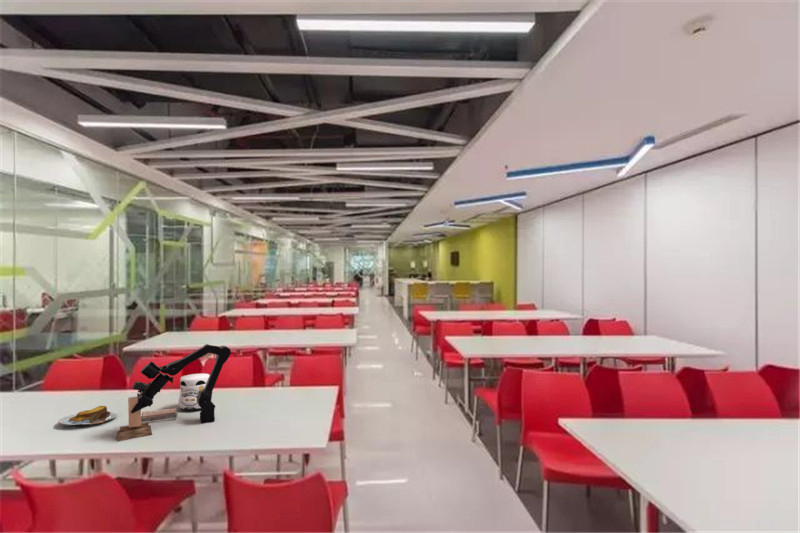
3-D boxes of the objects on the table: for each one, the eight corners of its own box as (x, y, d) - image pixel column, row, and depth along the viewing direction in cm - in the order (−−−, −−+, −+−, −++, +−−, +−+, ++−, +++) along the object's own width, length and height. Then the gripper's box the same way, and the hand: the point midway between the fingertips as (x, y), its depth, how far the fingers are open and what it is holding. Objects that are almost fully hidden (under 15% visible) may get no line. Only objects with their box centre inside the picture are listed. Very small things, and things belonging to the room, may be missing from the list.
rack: (150, 427, 223) (150, 421, 223) (152, 434, 212) (151, 428, 212) (117, 432, 215) (117, 426, 215) (117, 441, 204) (117, 434, 204)
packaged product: (177, 406, 243) (175, 411, 234) (178, 415, 243) (175, 420, 234) (140, 410, 236) (136, 415, 227) (140, 419, 236) (136, 425, 227)
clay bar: (140, 422, 217) (140, 395, 217) (141, 425, 213) (140, 398, 213) (128, 424, 215) (128, 397, 215) (128, 427, 210) (128, 400, 210)
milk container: (183, 414, 242) (183, 381, 242) (174, 407, 255) (174, 376, 255) (216, 408, 253) (216, 376, 253) (206, 401, 266) (206, 371, 266)
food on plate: (61, 420, 237) (61, 407, 237) (117, 411, 250) (117, 400, 250) (55, 434, 215) (55, 420, 216) (116, 424, 229) (116, 411, 229)
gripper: (142, 371, 224) (117, 396, 218) (144, 378, 208) (116, 406, 202) (160, 384, 228) (136, 410, 222) (163, 392, 212) (137, 420, 206)
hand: (131, 411), depth 213 cm, fingers closed on clay bar, 5 cm apart
